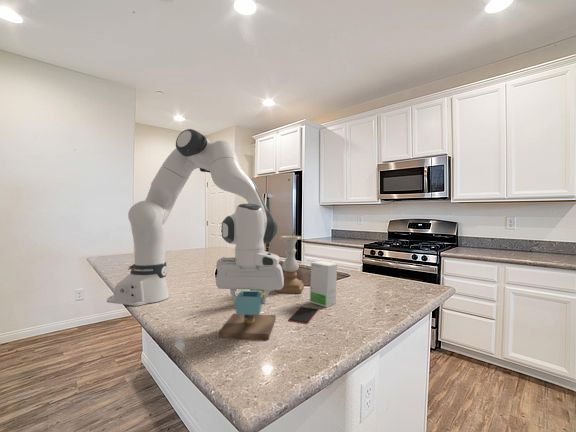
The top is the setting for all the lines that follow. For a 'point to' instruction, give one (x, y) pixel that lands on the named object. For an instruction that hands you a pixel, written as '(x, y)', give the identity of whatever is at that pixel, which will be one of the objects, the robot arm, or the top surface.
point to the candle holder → (291, 267)
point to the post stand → (248, 326)
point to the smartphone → (303, 315)
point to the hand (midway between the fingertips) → (250, 303)
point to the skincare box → (323, 283)
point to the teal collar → (248, 303)
